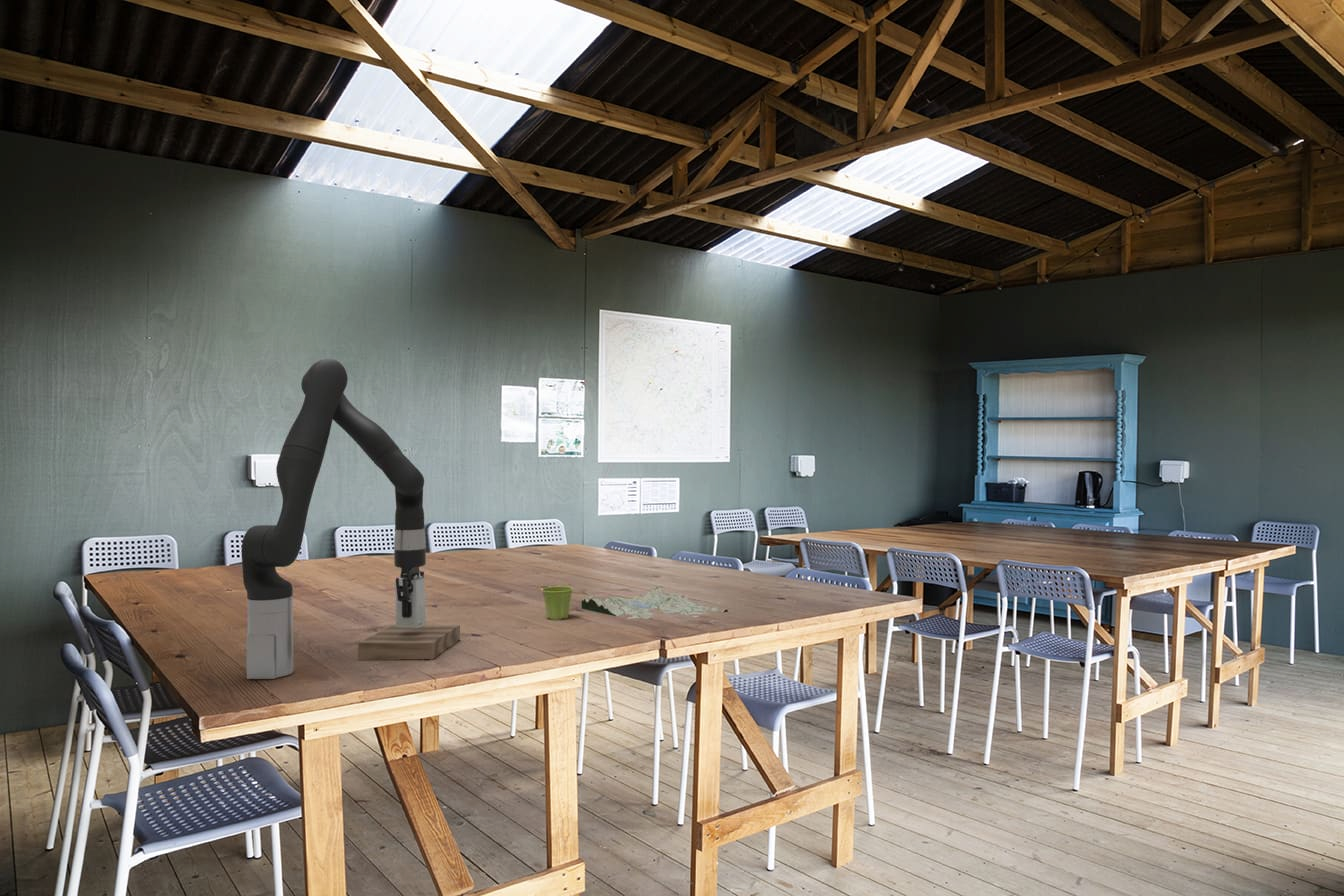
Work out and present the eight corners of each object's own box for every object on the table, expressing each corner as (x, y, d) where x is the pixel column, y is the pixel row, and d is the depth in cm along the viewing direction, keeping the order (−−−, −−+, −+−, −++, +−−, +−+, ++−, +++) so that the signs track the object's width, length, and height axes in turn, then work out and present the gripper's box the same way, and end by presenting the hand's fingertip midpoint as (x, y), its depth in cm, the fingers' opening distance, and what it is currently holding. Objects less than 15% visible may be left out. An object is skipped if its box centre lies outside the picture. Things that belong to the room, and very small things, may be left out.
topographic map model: (728, 614, 267) (727, 597, 268) (653, 627, 248) (652, 609, 248) (654, 600, 295) (653, 585, 295) (581, 611, 276) (581, 595, 276)
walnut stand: (432, 659, 208) (432, 643, 208) (358, 659, 209) (357, 643, 209) (460, 640, 230) (459, 624, 230) (392, 640, 231) (392, 625, 231)
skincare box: (426, 625, 221) (425, 577, 221) (416, 628, 217) (416, 580, 217) (404, 624, 223) (404, 577, 223) (395, 627, 219) (394, 579, 219)
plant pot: (571, 621, 255) (571, 591, 255) (539, 621, 256) (538, 591, 256) (575, 615, 265) (575, 586, 265) (544, 615, 265) (544, 586, 265)
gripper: (414, 550, 213) (415, 620, 213) (434, 544, 227) (434, 610, 227) (384, 550, 213) (385, 621, 213) (405, 544, 227) (406, 610, 227)
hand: (410, 615), depth 220 cm, fingers closed on skincare box, 4 cm apart
